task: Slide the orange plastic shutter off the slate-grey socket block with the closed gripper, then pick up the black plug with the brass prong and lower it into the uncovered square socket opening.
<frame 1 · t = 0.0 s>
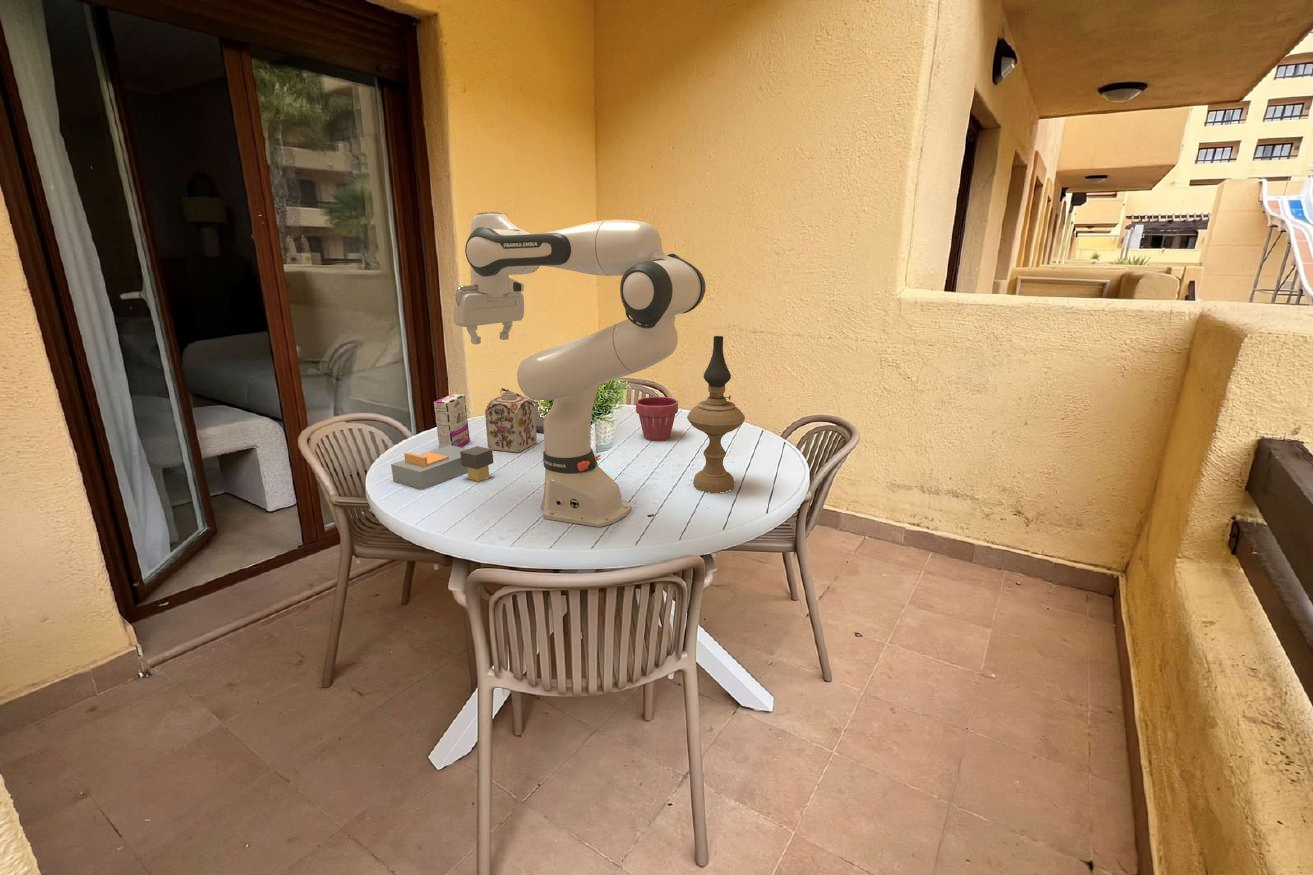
hand: (490, 341, 144), 39 cm above the table, tool pointing down, fingers open, 8 cm apart
candy bar box: (454, 447, 189), on the table
socket block: (437, 474, 165), on the table
shutter: (426, 455, 161), point 6 cm above the table, slide at 0.0 cm
plug: (478, 477, 162), on the table
decorative jar: (513, 447, 190), on the table
oil lamp: (713, 486, 157), on the table
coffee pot: (532, 429, 209), on the table
plant pot: (656, 437, 200), on the table
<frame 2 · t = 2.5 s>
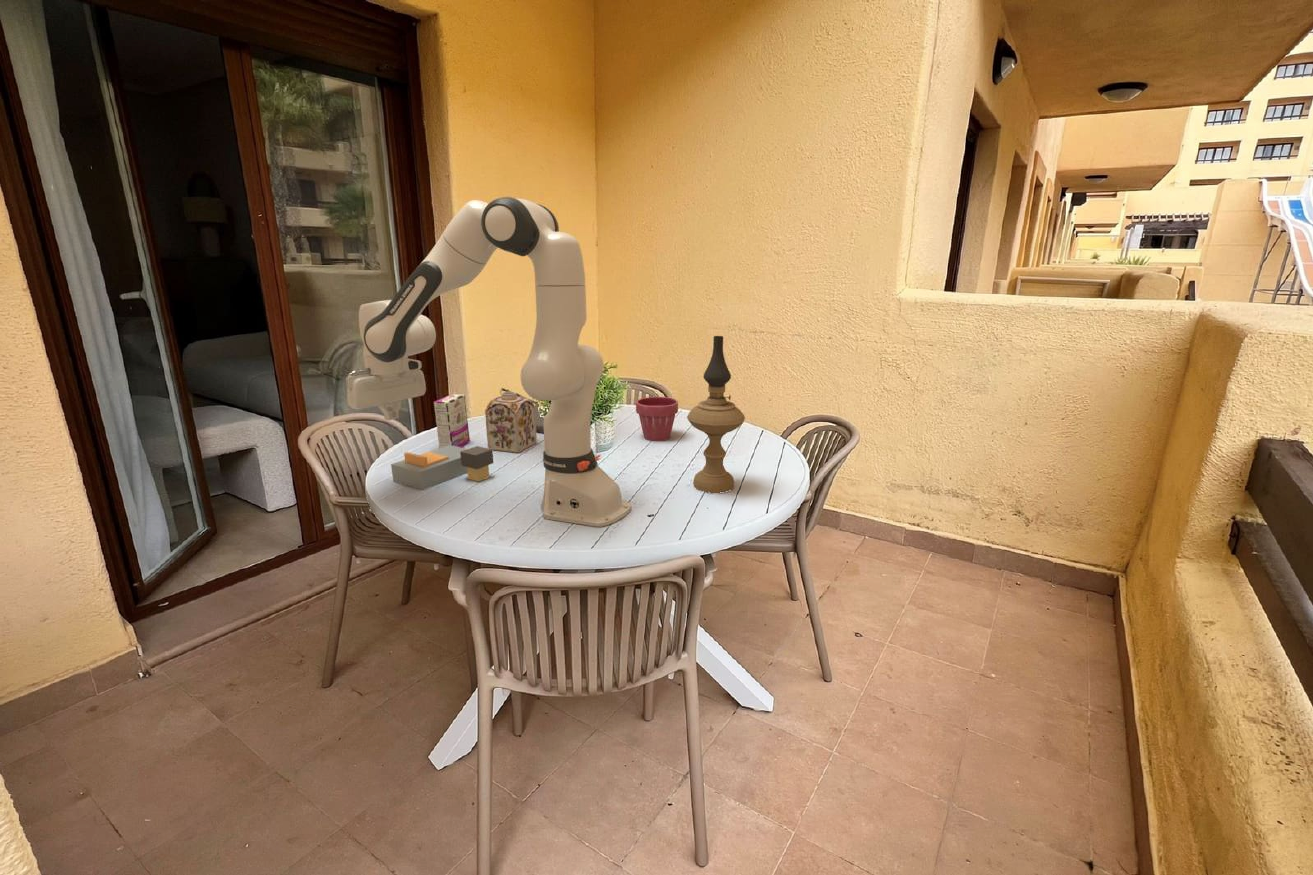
hand: (391, 419, 150), 19 cm above the table, tool pointing down, fingers closed
nothing on the table moved.
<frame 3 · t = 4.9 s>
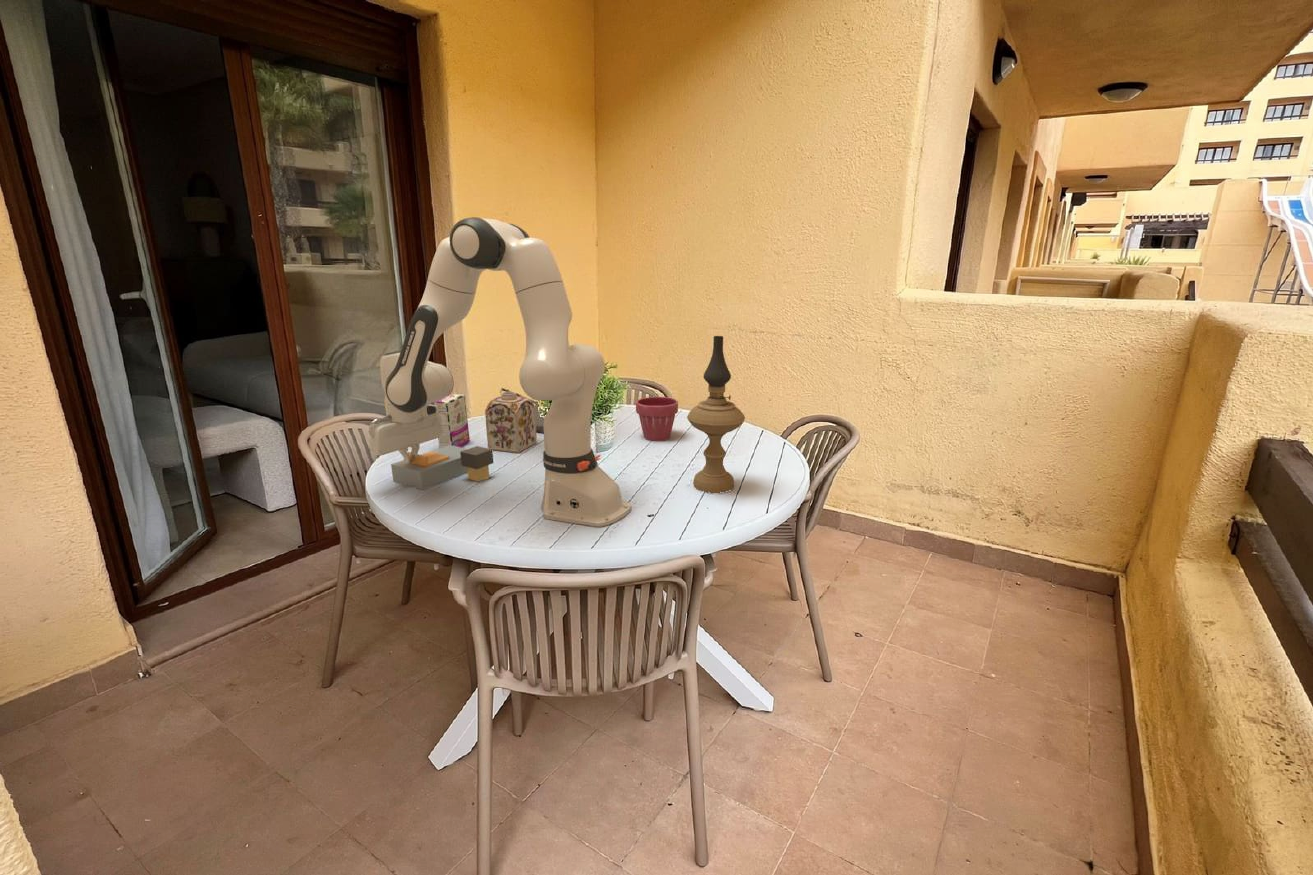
hand: (410, 461, 156), 6 cm above the table, tool pointing down, fingers closed
shutter: (427, 455, 161), point 6 cm above the table, slide at 0.3 cm, touching gripper
everything else where it was.
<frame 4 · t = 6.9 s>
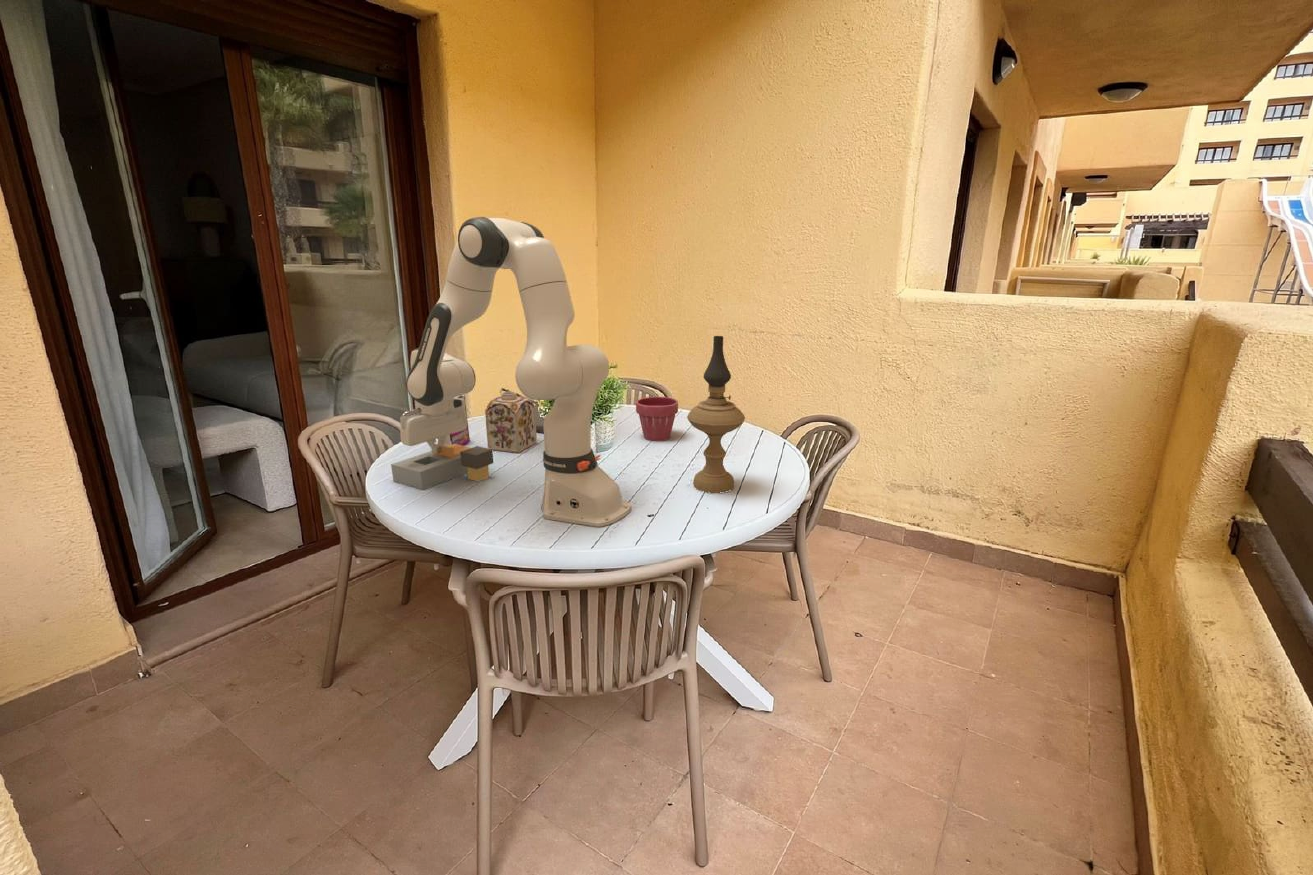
hand: (437, 452, 164), 6 cm above the table, tool pointing down, fingers closed
shutter: (452, 447, 168), point 6 cm above the table, slide at 9.1 cm, touching gripper
everything else where it was.
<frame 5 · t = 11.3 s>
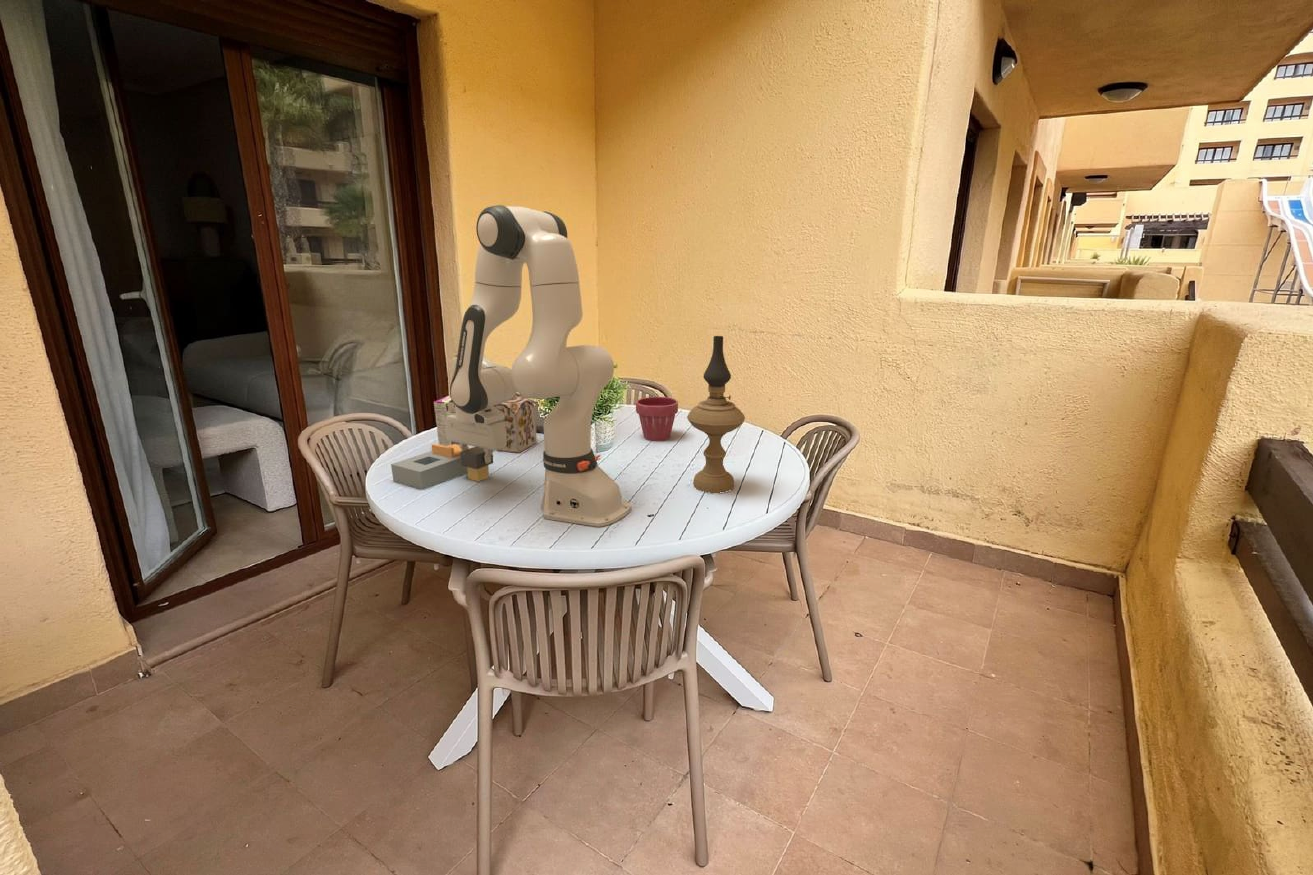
hand: (477, 460, 161), 5 cm above the table, tool pointing down, fingers closed on plug, 6 cm apart
shutter: (452, 447, 168), point 6 cm above the table, slide at 9.1 cm
plug: (478, 477, 162), on the table, touching gripper
everything else where it was.
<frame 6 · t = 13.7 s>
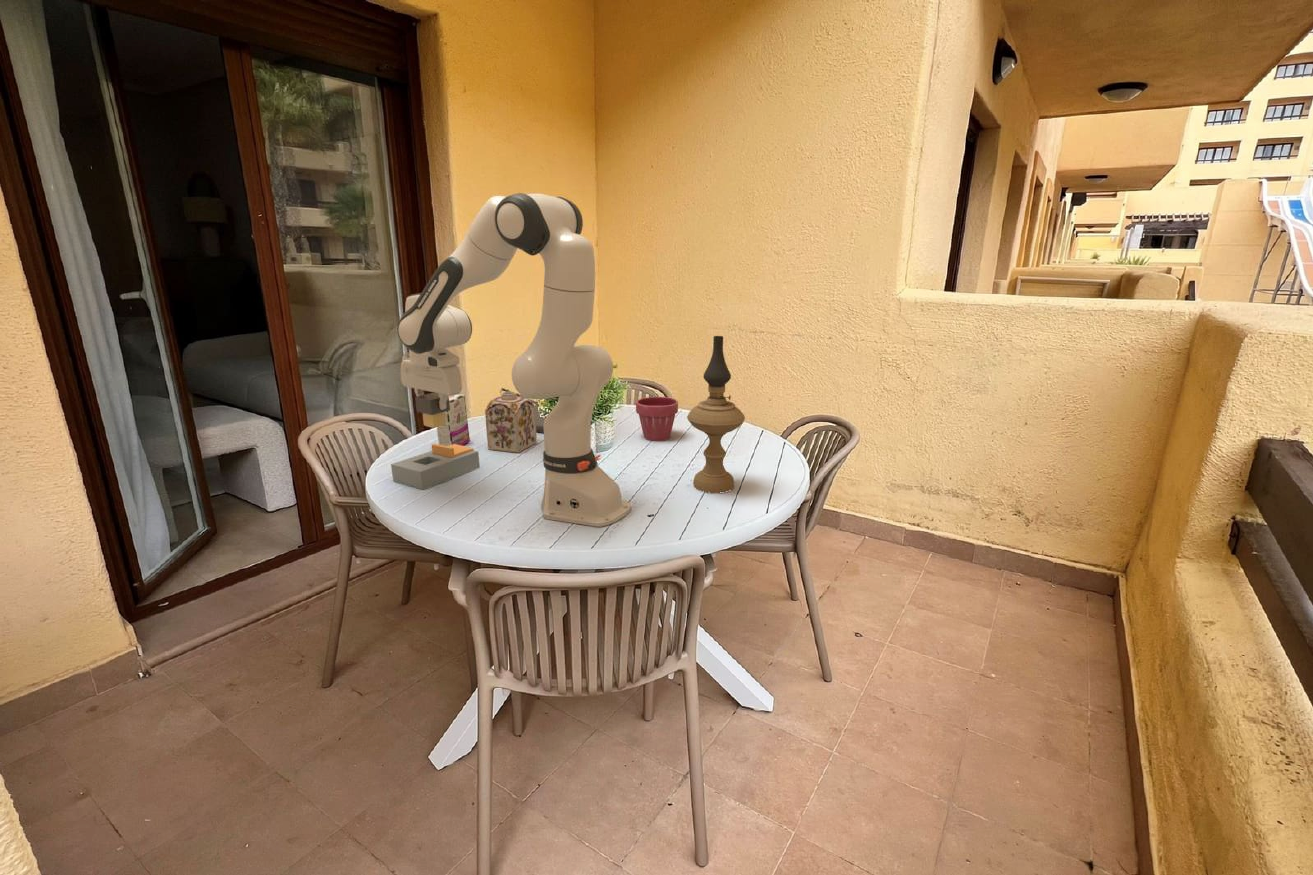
hand: (432, 406, 157), 20 cm above the table, tool pointing down, fingers closed on plug, 6 cm apart
plug: (434, 425, 159), point 15 cm above the table, touching gripper
everything else where it was.
when the fingers open (8 cm above the table, at t = 16.1 s): plug drops 1 cm, resting on socket block.
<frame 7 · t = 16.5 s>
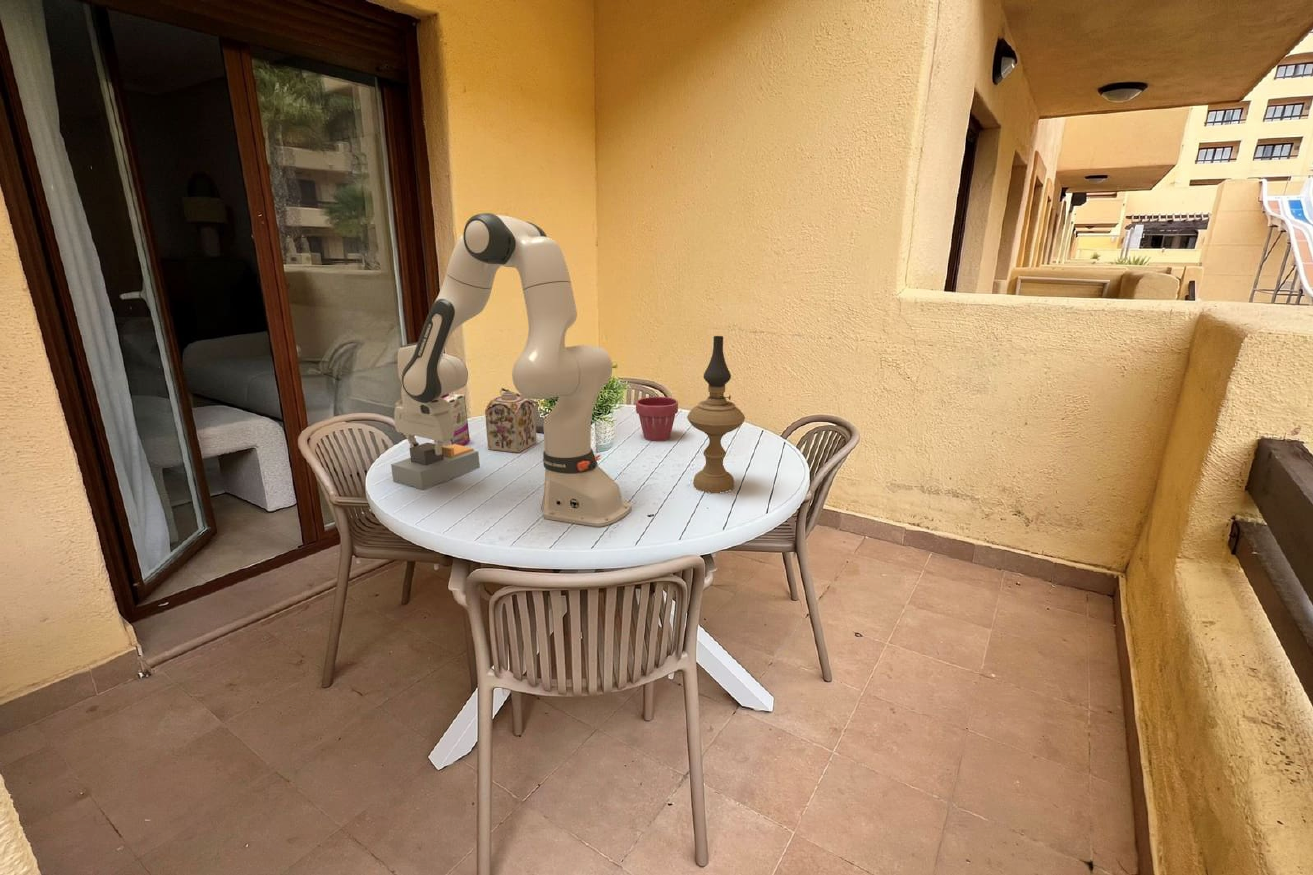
hand: (426, 451, 160), 8 cm above the table, tool pointing down, fingers open, 8 cm apart
plug: (429, 474, 162), point 1 cm above the table, touching socket block
everything else where it was.
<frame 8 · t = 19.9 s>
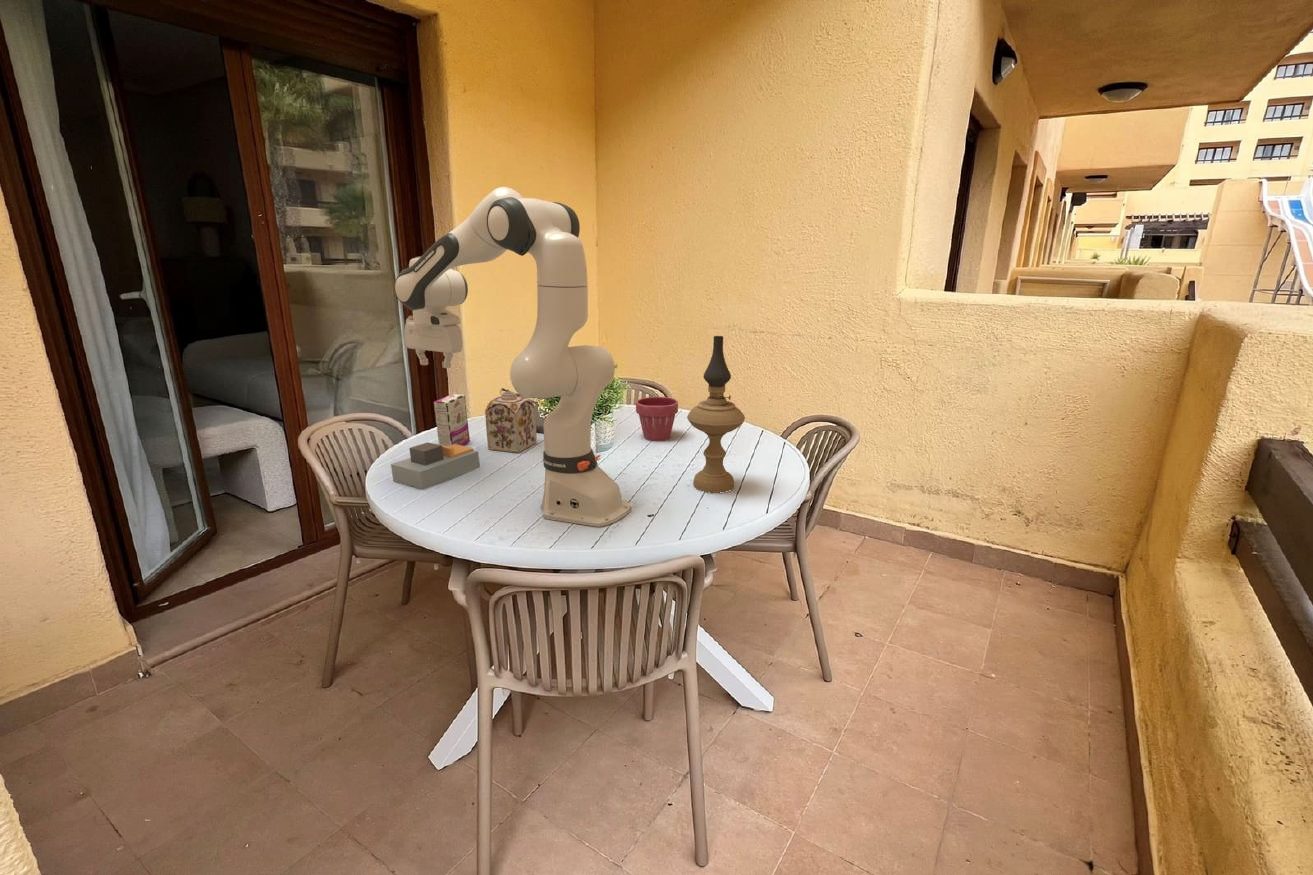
hand: (435, 366, 166), 29 cm above the table, tool pointing down, fingers open, 8 cm apart
nothing on the table moved.
at the end: shutter slide at 9.1 cm; plug 0.1 cm from the target spot on the socket block, point 1.0 cm above the socket block's base; plug tilted 0° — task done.
